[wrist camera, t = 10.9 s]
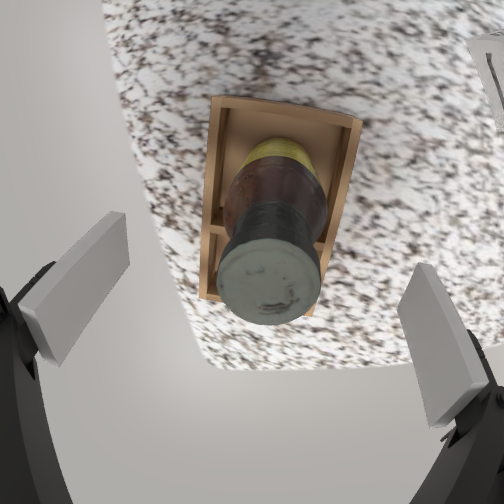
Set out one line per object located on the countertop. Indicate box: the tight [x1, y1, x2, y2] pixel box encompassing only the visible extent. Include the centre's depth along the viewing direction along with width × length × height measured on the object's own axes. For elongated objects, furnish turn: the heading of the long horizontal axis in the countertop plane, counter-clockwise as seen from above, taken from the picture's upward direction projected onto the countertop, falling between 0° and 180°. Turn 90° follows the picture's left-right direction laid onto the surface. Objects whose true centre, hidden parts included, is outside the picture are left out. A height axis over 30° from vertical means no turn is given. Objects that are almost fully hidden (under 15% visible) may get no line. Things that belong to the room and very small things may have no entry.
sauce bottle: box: [216, 137, 328, 325], centre depth 20 cm, size 7×6×20 cm
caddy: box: [199, 95, 363, 317], centre depth 30 cm, size 20×12×5 cm, turn 173°
